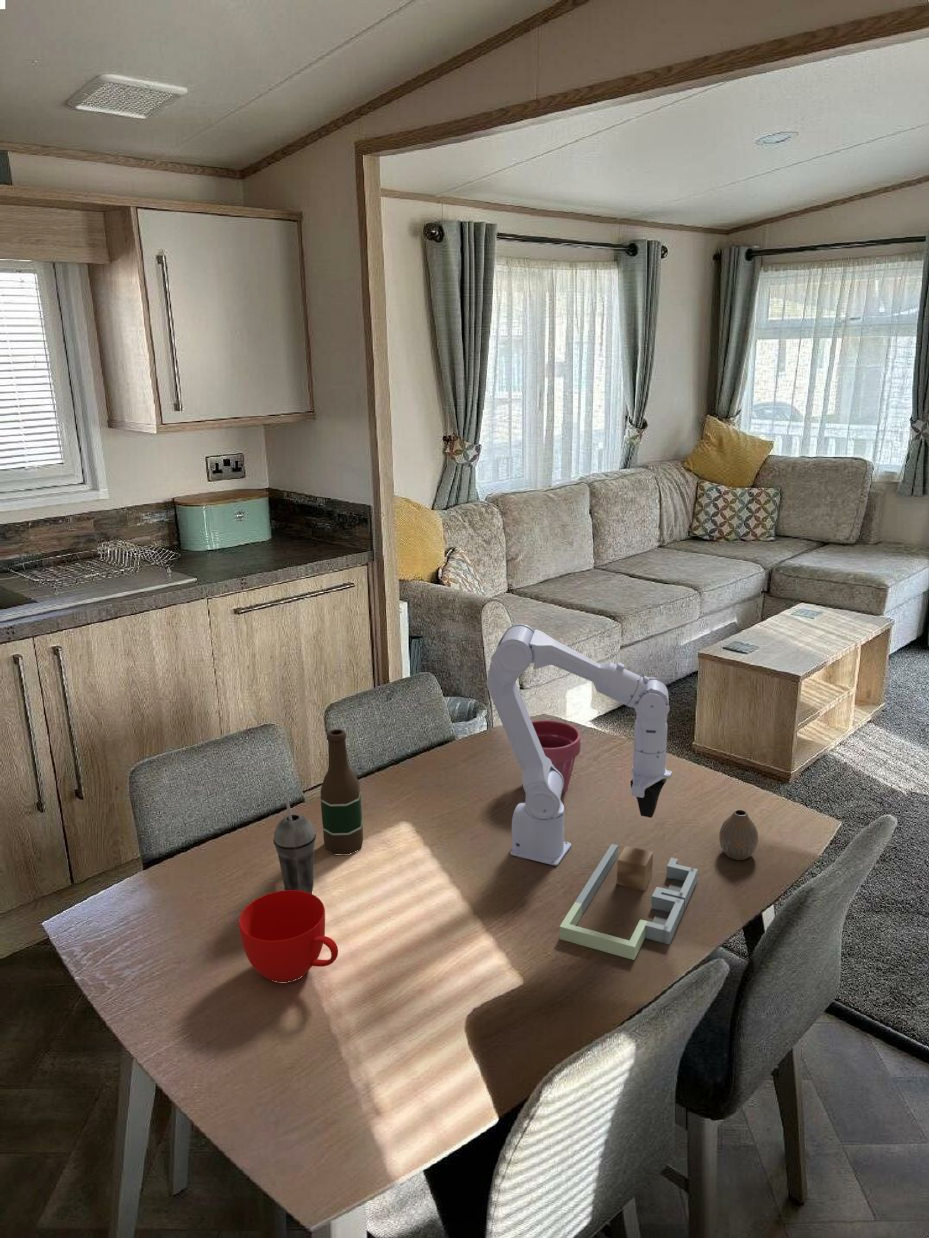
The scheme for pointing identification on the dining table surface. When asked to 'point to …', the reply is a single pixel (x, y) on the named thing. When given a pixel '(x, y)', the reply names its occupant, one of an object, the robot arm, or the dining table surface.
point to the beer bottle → (340, 800)
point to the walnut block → (634, 868)
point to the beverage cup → (295, 851)
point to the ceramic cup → (285, 934)
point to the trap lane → (659, 929)
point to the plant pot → (559, 745)
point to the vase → (738, 836)
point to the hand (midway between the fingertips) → (647, 815)
